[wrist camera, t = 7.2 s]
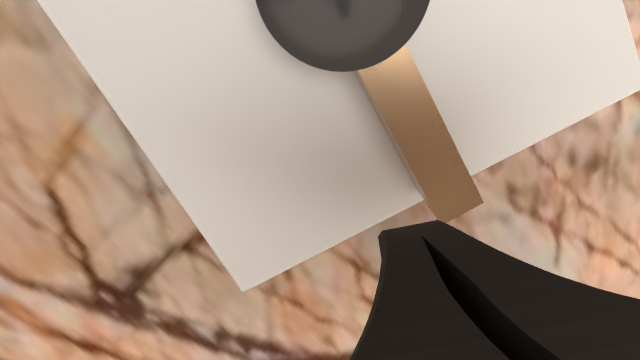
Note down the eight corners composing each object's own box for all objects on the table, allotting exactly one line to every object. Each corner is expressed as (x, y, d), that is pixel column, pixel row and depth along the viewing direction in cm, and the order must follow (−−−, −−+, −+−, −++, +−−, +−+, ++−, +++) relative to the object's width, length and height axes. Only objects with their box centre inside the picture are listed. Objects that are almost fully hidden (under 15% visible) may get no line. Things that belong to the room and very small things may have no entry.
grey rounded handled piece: (229, -48, 17) (216, -59, 13) (362, -133, 16) (383, -166, 13) (381, 213, 20) (400, 255, 17) (494, 151, 20) (536, 183, 16)
